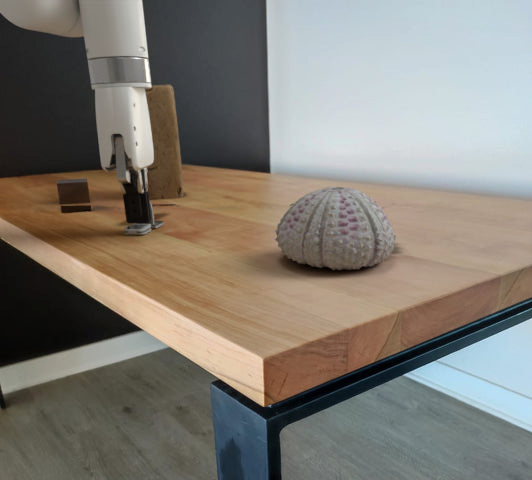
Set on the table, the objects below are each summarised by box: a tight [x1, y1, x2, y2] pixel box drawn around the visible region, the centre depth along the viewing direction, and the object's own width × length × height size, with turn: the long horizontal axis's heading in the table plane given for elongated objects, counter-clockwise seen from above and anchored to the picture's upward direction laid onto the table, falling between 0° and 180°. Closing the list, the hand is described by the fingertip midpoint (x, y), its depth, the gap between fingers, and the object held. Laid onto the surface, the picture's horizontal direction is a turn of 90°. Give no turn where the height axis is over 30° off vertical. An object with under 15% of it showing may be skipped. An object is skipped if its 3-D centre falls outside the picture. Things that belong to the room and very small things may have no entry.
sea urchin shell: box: [274, 185, 397, 271], centre depth 60 cm, size 13×14×8 cm
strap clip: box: [123, 201, 165, 236], centre depth 79 cm, size 8×3×4 cm, turn 168°
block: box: [144, 83, 184, 207], centre depth 98 cm, size 11×8×20 cm
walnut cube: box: [56, 178, 93, 214], centre depth 95 cm, size 5×5×5 cm
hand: (139, 221), depth 77 cm, fingers closed
